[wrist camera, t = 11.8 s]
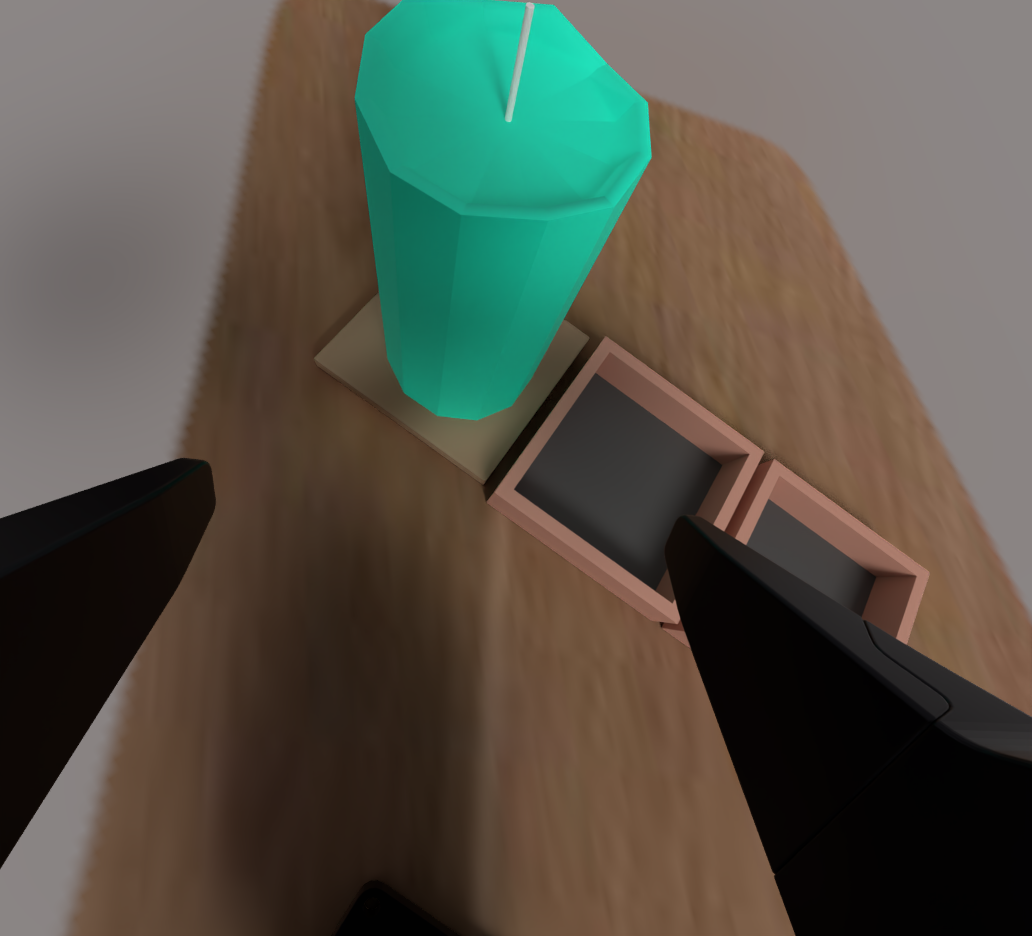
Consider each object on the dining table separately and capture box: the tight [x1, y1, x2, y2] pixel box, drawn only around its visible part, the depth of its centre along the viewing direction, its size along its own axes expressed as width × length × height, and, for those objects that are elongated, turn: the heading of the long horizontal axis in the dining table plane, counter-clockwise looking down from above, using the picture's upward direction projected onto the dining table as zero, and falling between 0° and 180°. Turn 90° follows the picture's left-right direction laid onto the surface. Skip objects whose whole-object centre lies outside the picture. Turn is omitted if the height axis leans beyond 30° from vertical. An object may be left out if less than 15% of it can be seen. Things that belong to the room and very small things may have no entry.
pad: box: [314, 292, 590, 484], centre depth 20 cm, size 8×8×1 cm
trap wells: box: [486, 336, 930, 649], centre depth 19 cm, size 16×8×2 cm, turn 56°
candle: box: [355, 0, 651, 420], centre depth 14 cm, size 6×6×12 cm
